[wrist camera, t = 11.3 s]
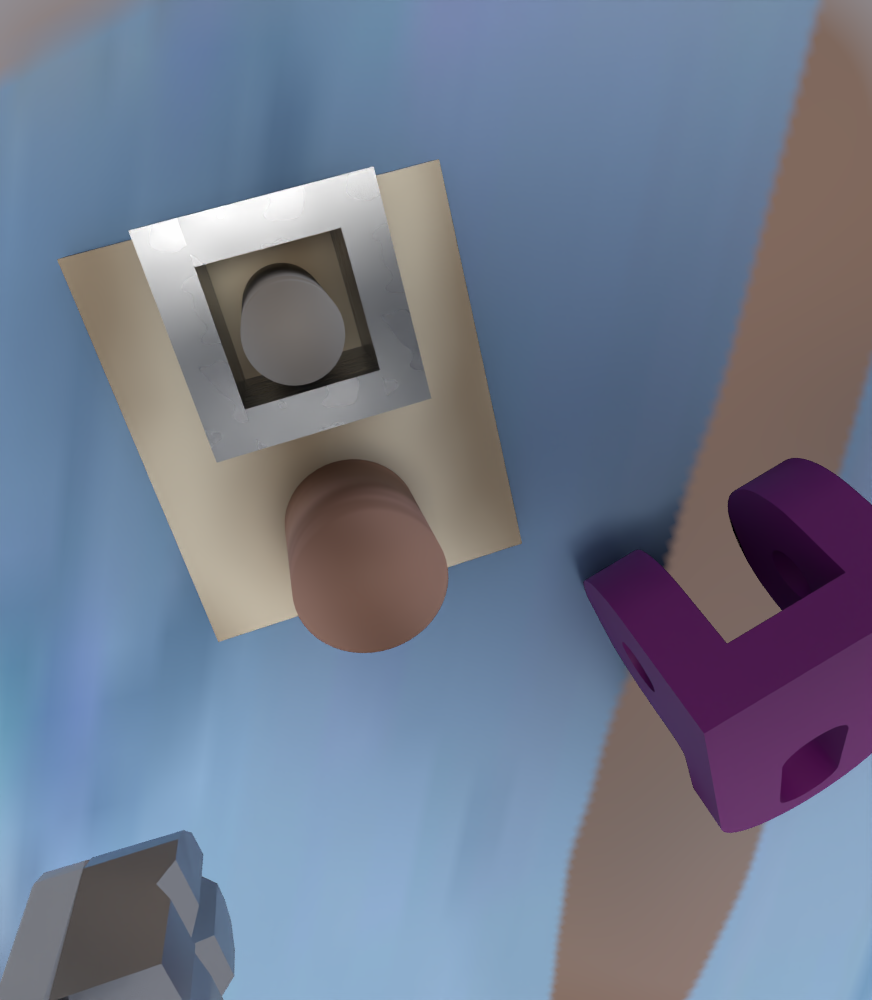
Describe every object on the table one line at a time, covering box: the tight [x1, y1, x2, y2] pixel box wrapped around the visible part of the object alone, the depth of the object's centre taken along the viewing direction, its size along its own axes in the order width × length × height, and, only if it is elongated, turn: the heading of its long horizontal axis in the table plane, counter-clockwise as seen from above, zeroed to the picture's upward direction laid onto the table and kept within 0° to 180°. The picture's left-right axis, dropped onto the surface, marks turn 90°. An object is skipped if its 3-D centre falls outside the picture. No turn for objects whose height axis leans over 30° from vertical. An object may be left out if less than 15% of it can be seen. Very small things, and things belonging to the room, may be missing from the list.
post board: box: [57, 160, 522, 653], centre depth 24 cm, size 12×14×7 cm
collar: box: [129, 167, 431, 462], centre depth 23 cm, size 6×6×4 cm
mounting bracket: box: [584, 458, 872, 833], centre depth 34 cm, size 10×8×18 cm
